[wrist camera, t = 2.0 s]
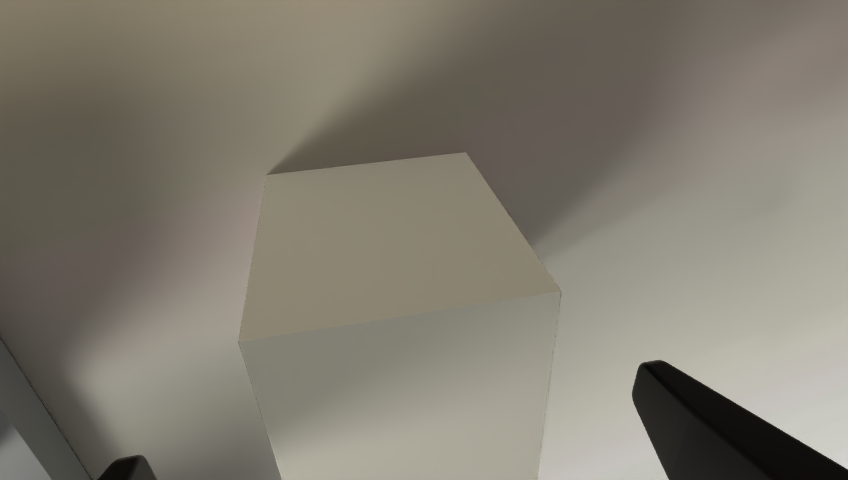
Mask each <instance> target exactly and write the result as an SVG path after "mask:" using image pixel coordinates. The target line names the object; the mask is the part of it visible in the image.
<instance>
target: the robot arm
mask: <svg viewBox="0 0 848 480" xmlns="http://www.w3.org/2000/svg"><path fill="white" fill-rule="evenodd" d="M632 398H633V402H634V405H635V407H636V409H637V412H638V414H639V416H640V418H641V420H642V423H643V425H644V427H645V429H646V431H647V434H648V436H649V438H650V440H651V442H652V444H653V447H654V449H655V451H656V453H657V455H658V458H659V460H660V462H661V464H662V466H663V468H664V470H665V473H666V475H667V477H668V479H669V480H848V469H846V468H844V467H843V466H841V465H839V464H838V463H836V462H834V461H833V460H831V459H829V458H827V457H826V456H824V455H822V454H821V453H819V452H817V451H816V450H814V449H812V448H811V447H809V446H807V445H805V444H804V443H802V442H800V441H799V440H797V439H795V438H794V437H792V436H790V435H789V434H787V433H785V432H783V431H782V430H780V429H778V428H777V427H775V426H773V425H772V424H770V423H768V422H767V421H765V420H763V419H761V418H760V417H758V416H756V415H755V414H753V413H751V412H750V411H748V410H746V409H745V408H743V407H741V406H739V405H738V404H736V403H734V402H733V401H731V400H729V399H728V398H726V397H724V396H723V395H721V394H719V393H717V392H716V391H714V390H712V389H711V388H709V387H707V386H706V385H704V384H702V383H701V382H699V381H697V380H695V379H694V378H692V377H690V376H689V375H687V374H685V373H684V372H682V371H680V370H679V369H677V368H675V367H673V366H672V365H670V364H668V363H667V362H665V361H662V360H655V361H649V362H644V363H641V365H640V366H639V367H638V371H637V375H636V379H635V383H634V386H633V391H632ZM98 480H157V479H156V477H155V475H154V473H153V471H152V469H151V467H150V465H149V463H148V462H147V460H146V458H145V457H144V456H142V455H135V456H130V457H124V458H120V459H117V460H115V461H114V462H113V463H112V464H111V465H110V466H109V467H108V468H107V469H106V471H105V472H104V473H103V474H102V475H101V476H100V478H99V479H98Z"/></svg>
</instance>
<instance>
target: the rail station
mask: <svg viewBox="0 0 848 480" xmlns="http://www.w3.org/2000/svg"><path fill="white" fill-rule="evenodd" d="M0 480H91V479H90V477H89V476H88V474H87V472H86V471H85V469H84V468H83V466H82V465H81V463H80V462H79V460H78V458H77V457H76V455H75V454H74V452H73V451H72V449H71V448H70V446H69V444H68V443H67V441H66V440H65V438H64V437H63V435H62V434H61V432H60V430H59V429H58V427H57V426H56V424H55V423H54V421H53V420H52V418H51V416H50V415H49V413H48V412H47V410H46V409H45V407H44V406H43V404H42V403H41V401H40V399H39V398H38V396H37V395H36V393H35V392H34V390H33V389H32V387H31V385H30V384H29V382H28V381H27V379H26V378H25V376H24V375H23V373H22V371H21V370H20V368H19V367H18V365H17V364H16V362H15V361H14V359H13V357H12V356H11V354H10V353H9V351H8V350H7V348H6V347H5V345H4V344H3V342H2V340H1V339H0Z"/></svg>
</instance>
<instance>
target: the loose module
mask: <svg viewBox="0 0 848 480" xmlns="http://www.w3.org/2000/svg"><path fill="white" fill-rule="evenodd" d="M560 298H561V290H560V289H559V287H558V286H557V284H556V283H555V281H554V280H553V278H552V277H551V275H550V274H549V273H548V271H547V270H546V268H545V267H544V265H543V264H542V262H541V261H540V259H539V258H538V257H537V255H536V254H535V252H534V251H533V249H532V248H531V246H530V245H529V243H528V242H527V241H526V239H525V238H524V236H523V235H522V233H521V232H520V230H519V229H518V227H517V226H516V224H515V223H514V222H513V220H512V219H511V217H510V216H509V214H508V213H507V211H506V210H505V208H504V207H503V206H502V204H501V203H500V201H499V200H498V198H497V197H496V195H495V194H494V192H493V191H492V190H491V188H490V187H489V185H488V184H487V182H486V181H485V179H484V178H483V176H482V175H481V174H480V172H479V171H478V169H477V168H476V166H475V165H474V163H473V162H472V160H471V159H470V158H469V156H468V155H467V153H466V152H462V153H454V154H445V155H436V156H427V157H419V158H410V159H401V160H393V161H384V162H375V163H366V164H358V165H349V166H340V167H331V168H323V169H314V170H305V171H297V172H288V173H279V174H270V175H266V181H265V187H264V192H263V198H262V204H261V210H260V216H259V222H258V228H257V234H256V240H255V246H254V252H253V257H252V263H251V269H250V275H249V281H248V287H247V293H246V299H245V305H244V311H243V317H242V322H241V328H240V334H239V340H238V343H239V346H240V349H241V352H242V355H243V359H244V362H245V365H246V368H247V371H248V374H249V378H250V381H251V384H252V387H253V390H254V393H255V397H256V400H257V403H258V406H259V409H260V412H261V416H262V419H263V422H264V425H265V428H266V431H267V435H268V438H269V441H270V444H271V447H272V450H273V453H274V457H275V460H276V463H277V466H278V469H279V472H280V476H281V479H282V480H534V479H537V478H538V471H539V463H540V455H541V447H542V439H543V431H544V423H545V416H546V408H547V400H548V392H549V384H550V376H551V368H552V360H553V353H554V345H555V337H556V329H557V321H558V313H559V305H560Z"/></svg>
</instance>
